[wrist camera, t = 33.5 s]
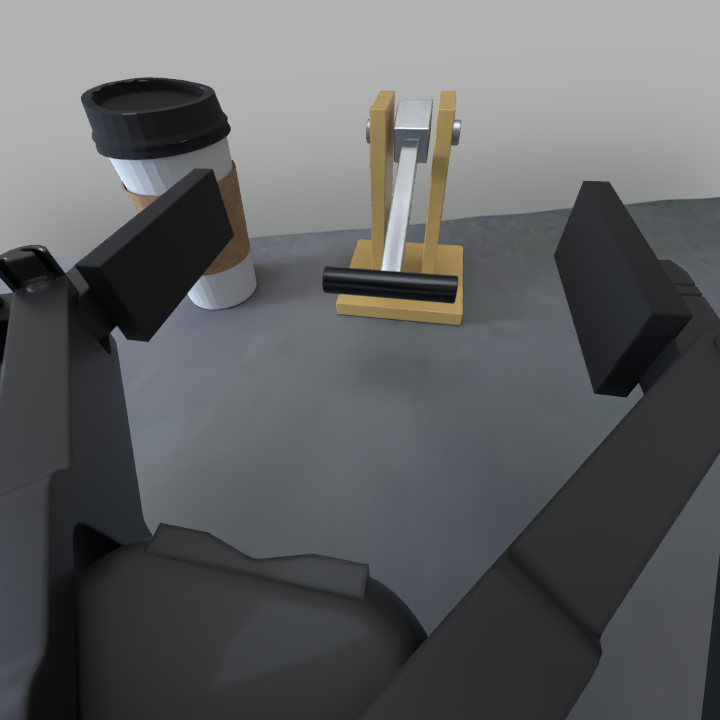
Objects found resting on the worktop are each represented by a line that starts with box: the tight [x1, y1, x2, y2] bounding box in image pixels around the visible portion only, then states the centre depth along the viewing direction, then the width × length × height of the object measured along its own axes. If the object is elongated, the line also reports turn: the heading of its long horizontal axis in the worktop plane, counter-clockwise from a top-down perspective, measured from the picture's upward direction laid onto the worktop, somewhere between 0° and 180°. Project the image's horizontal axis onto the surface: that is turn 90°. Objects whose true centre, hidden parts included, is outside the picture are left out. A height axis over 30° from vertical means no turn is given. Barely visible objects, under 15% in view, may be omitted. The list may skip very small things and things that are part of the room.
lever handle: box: [322, 100, 458, 304], centre depth 22 cm, size 14×7×2 cm, turn 170°
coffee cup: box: [81, 77, 257, 310], centre depth 28 cm, size 8×8×15 cm
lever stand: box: [336, 91, 463, 325], centre depth 28 cm, size 10×10×14 cm
